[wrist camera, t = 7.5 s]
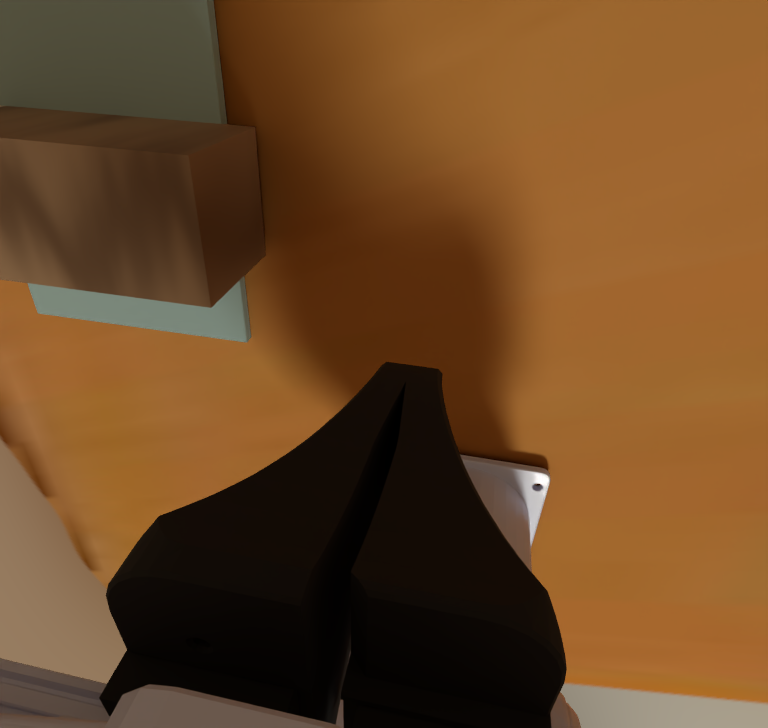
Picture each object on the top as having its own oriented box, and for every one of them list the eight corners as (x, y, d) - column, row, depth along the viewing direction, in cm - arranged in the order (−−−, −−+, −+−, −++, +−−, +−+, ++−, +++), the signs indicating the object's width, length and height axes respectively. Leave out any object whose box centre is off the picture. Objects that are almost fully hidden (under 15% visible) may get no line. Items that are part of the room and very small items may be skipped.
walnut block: (211, 307, 19) (-66, 270, 20) (265, 254, 23) (32, 227, 24) (188, 155, 16) (-131, 125, 17) (255, 126, 20) (-7, 105, 21)
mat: (251, 337, 26) (246, 342, 25) (45, 308, 27) (38, 313, 27) (201, -103, 17) (194, -106, 17) (-98, -108, 18) (-111, -111, 18)
